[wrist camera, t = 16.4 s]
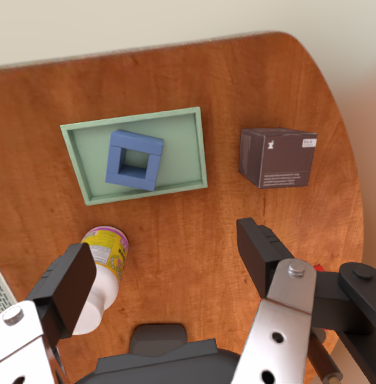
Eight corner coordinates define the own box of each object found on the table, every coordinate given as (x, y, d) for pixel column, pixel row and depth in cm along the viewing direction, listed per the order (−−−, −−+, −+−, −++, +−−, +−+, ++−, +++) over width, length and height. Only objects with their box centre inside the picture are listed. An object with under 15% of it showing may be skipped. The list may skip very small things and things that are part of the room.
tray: (197, 106, 28) (200, 106, 26) (205, 182, 31) (207, 187, 30) (66, 124, 27) (59, 125, 25) (90, 200, 31) (86, 206, 29)
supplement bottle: (125, 264, 35) (105, 345, 23) (81, 257, 34) (37, 340, 22) (133, 228, 33) (116, 297, 21) (86, 219, 32) (40, 288, 20)
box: (236, 171, 31) (257, 189, 24) (240, 128, 29) (263, 134, 22) (277, 170, 32) (308, 187, 25) (284, 127, 30) (319, 133, 23)
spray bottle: (189, 322, 41) (175, 399, 50) (130, 323, 40) (126, 401, 48) (191, 338, 38) (176, 416, 47) (127, 339, 37) (124, 419, 46)
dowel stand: (324, 319, 45) (377, 389, 34) (320, 344, 48) (368, 416, 37) (289, 326, 45) (330, 399, 33) (287, 350, 47) (325, 425, 36)
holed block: (163, 139, 28) (163, 144, 24) (155, 179, 30) (154, 191, 26) (118, 128, 27) (110, 132, 23) (113, 171, 29) (104, 182, 25)
